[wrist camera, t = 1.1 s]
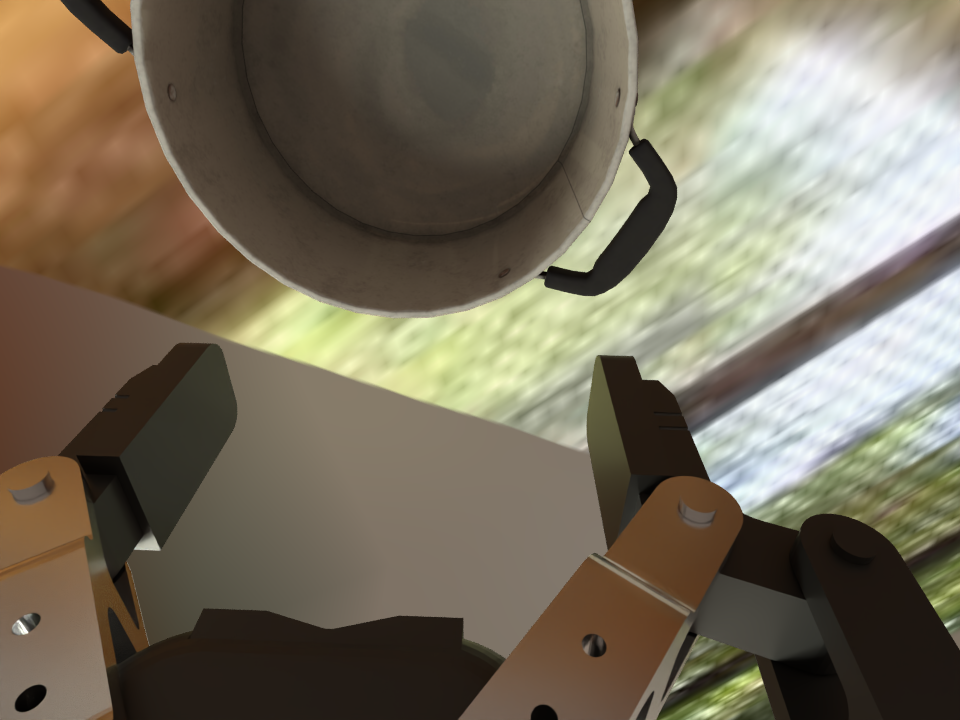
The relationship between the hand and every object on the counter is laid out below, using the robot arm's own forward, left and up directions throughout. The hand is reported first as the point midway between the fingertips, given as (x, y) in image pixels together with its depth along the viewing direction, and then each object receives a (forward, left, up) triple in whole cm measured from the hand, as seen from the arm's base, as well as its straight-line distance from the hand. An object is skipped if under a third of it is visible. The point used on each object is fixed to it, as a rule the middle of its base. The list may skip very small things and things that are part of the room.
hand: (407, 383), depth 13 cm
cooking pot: (0, -4, -29) cm, 29 cm away
